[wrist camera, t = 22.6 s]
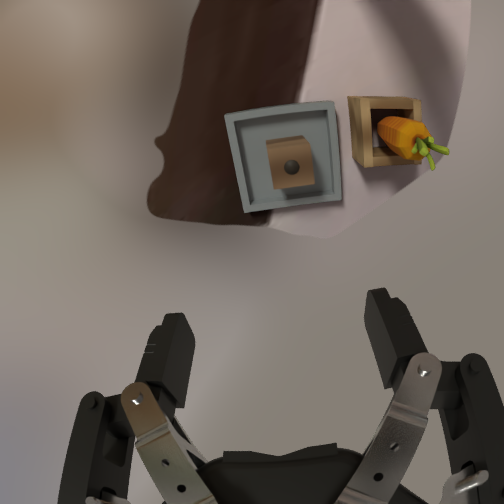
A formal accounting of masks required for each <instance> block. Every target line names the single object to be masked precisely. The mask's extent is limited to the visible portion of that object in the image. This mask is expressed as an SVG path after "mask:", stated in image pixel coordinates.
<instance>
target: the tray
mask: <svg viewBox="0 0 504 504" xmlns="http://www.w3.org/2000/svg"><path fill="white" fill-rule="evenodd" d="M224 117H225V122H226V127H227V132H228V136H229V141H230V146H231V151H232V156H233V161H234V165H235V170H236V175H237V180H238V185H239V190H240V194H241V199H242V204H243V209H244V213H246V212H253V211H260V210H267V209H274V208H281V207H289V206H296V205H304V204H312V203H320V202H328V201H336V200H342V197H341V175H340V159H339V146H338V134H337V124H336V114H335V106H334V102H333V101H318V102H306V103H295V104H286V105H278V106H270V107H263V108H257V109H250V110H244V111H239V112H233V113H228V114H225V115H224ZM300 135H303V136H304V138H305V139H306V140H307V141H308V142H309V143H310V146H311V154H312V162H313V171H314V181H315V184H312V185H304V186H297V187H290V188H283V189H276V190H274V188H273V182H272V176H271V170H270V165H269V159H268V153H267V147H266V140H271V139H277V138H284V137H292V136H300Z"/></svg>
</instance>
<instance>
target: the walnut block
mask: <svg viewBox="0 0 504 504" xmlns="http://www.w3.org/2000/svg"><path fill="white" fill-rule="evenodd" d="M266 147H267V153H268V159H269V165H270V170H271V176H272V182H273V188H274V190H276V189H283V188H290V187H297V186H304V185H312V184H315V181H314V171H313V162H312V154H311V146H310V143H309V142H308V141H307V140H306V139H305V138H304V136H303V135H300V136H292V137H284V138H277V139H271V140H266Z"/></svg>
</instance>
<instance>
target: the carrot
mask: <svg viewBox="0 0 504 504" xmlns="http://www.w3.org/2000/svg"><path fill="white" fill-rule="evenodd" d="M377 133H378V134H379V136H380V137H381V138H382V139H383V141H384V142H385V143H386V144H387V146H388V147H389V148H390V149H391V150H392V151H394V152H395V153H396V154H398V155H399V156H401V157H402V158H404V159H408V160H417V161H420V160H422V159H423V158H424V157H425V156H426V157H427V159H428V161H429V164H430V167H431V170H434V169H435V164H434V161H433V159H432V157H431V155H430V154H429V152H430V149H432V150H434V151H437V152H439V153H442V154H445V155H449V149H448V148H446V147H443V146H439V145H436V144H433V143H434V138H433V137H432V136H431V135H430V133H429V131H428V130H427V128H426V127H425V125H424V124H423V123H422V122H419V121H416V120H412V119H407V118H401V117H395V116H389V117H385V118H383V119H382V120H381V121H380V122H378V123H377Z"/></svg>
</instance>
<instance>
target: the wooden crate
mask: <svg viewBox="0 0 504 504" xmlns="http://www.w3.org/2000/svg"><path fill="white" fill-rule="evenodd" d="M347 98H348V107H349V117H350V128H351V141H352V157H353V158H354V159H355V160H356V161H357V162H358V163H360V164H361V165H362V166H363V167H364V168H366V167H373V166H388V165H407V164H414V165H417V164H421V163H422V160H420V161H417V160H408V159H404V158H402V157H401V156H399V155H398V154H396V153H395V152H394V151H392V150H391V149H390V148H389V147H373V148H372V128H371V114H370V109H397V116H398V117H401V118H407V119H412V120H416V121H419V122H422V115H421V100H417V99H412V98H407V97H378V96H362V97H358V96H347Z"/></svg>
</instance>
